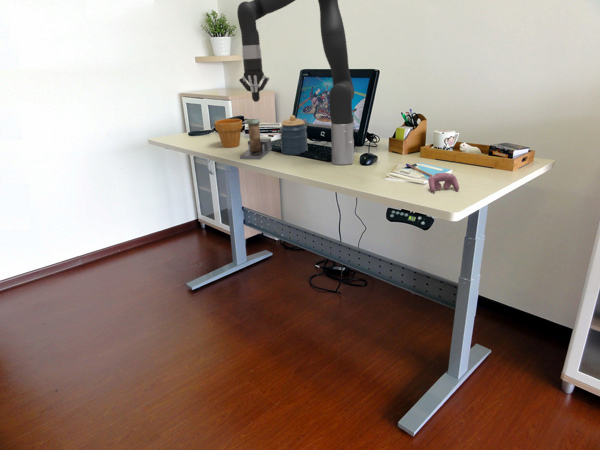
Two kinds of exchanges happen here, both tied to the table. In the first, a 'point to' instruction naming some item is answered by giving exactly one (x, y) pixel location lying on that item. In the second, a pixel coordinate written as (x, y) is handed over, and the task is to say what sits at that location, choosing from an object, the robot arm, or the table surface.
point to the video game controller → (439, 177)
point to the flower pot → (229, 132)
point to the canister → (293, 136)
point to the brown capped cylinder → (254, 134)
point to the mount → (258, 155)
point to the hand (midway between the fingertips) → (256, 101)
